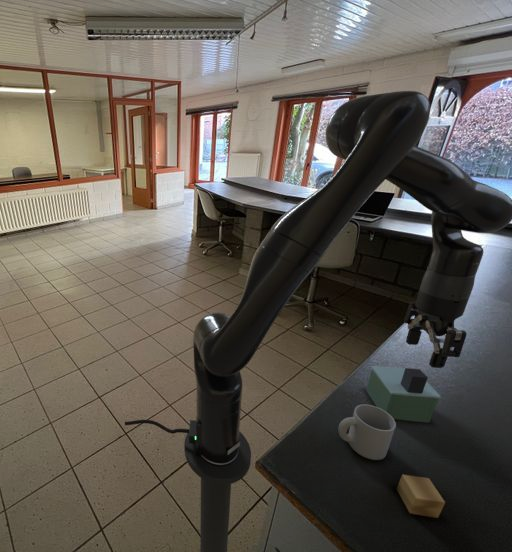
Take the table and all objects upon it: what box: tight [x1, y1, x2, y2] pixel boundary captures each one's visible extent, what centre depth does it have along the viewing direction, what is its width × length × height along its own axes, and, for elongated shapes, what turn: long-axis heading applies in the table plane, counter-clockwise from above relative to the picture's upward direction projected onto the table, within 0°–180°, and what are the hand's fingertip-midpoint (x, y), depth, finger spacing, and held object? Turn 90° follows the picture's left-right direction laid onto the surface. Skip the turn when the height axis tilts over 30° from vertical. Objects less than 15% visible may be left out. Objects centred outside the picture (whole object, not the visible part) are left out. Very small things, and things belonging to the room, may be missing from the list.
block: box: [396, 474, 446, 519], centre depth 55 cm, size 4×4×4 cm
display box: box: [365, 368, 439, 424], centre depth 76 cm, size 10×10×8 cm
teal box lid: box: [370, 365, 442, 400], centre depth 74 cm, size 10×10×5 cm
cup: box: [337, 403, 397, 461], centre depth 66 cm, size 7×10×9 cm
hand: (422, 354), depth 68 cm, fingers open, 8 cm apart
